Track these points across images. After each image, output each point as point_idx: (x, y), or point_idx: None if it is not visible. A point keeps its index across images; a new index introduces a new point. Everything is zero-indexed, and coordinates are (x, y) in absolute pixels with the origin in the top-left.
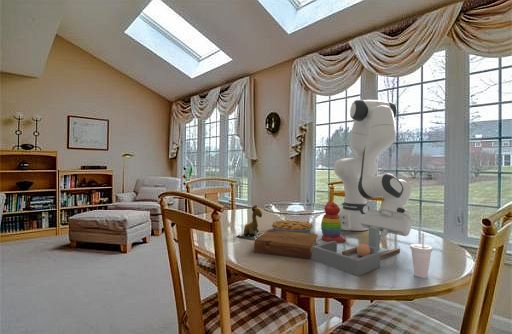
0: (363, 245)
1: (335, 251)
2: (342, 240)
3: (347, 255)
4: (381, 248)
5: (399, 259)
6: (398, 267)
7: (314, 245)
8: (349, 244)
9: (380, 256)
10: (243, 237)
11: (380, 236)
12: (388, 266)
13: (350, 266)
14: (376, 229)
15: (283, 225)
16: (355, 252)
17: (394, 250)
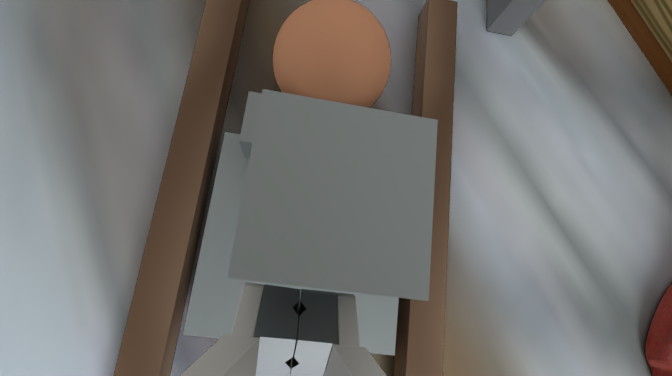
0: (326, 2)
1: (497, 5)
2: (665, 332)
3: (417, 40)
4: None
5: (58, 225)
6: (22, 33)
7: (667, 27)
8: (574, 320)
9: (185, 92)
10: None
11: (246, 298)
12: (95, 9)
13: None
14: (258, 136)
15: None
16: None
17: (122, 360)
